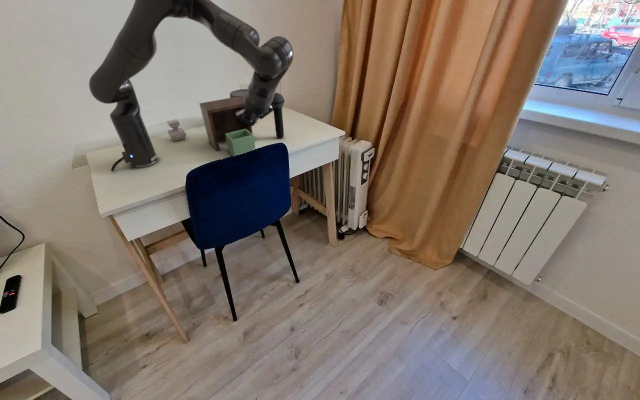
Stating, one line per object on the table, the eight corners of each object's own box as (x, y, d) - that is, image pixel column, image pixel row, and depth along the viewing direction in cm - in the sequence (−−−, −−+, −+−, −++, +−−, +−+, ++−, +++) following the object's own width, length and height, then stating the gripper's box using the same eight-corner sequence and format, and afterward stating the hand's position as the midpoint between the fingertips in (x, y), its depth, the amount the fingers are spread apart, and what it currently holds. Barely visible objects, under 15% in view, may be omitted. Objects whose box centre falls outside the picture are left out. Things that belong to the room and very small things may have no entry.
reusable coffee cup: (248, 128, 138) (243, 97, 129) (229, 124, 143) (223, 93, 134) (264, 120, 147) (260, 91, 138) (246, 116, 152) (242, 87, 143)
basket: (235, 158, 113) (231, 140, 108) (228, 151, 118) (224, 133, 113) (256, 153, 117) (253, 135, 112) (248, 146, 122) (245, 128, 117)
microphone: (276, 141, 126) (271, 96, 114) (271, 136, 130) (265, 92, 118) (289, 138, 128) (286, 93, 116) (284, 133, 133) (280, 90, 121)
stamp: (188, 140, 127) (183, 122, 122) (173, 144, 124) (166, 125, 119) (184, 133, 133) (178, 116, 128) (169, 137, 131) (163, 119, 126)
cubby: (216, 150, 119) (206, 110, 108) (209, 141, 126) (199, 103, 116) (253, 141, 126) (247, 102, 116) (244, 133, 134) (238, 96, 123)
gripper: (275, 81, 85) (263, 110, 101) (233, 88, 79) (227, 118, 95) (285, 103, 85) (271, 129, 100) (243, 111, 79) (236, 138, 94)
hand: (250, 123), depth 98 cm, fingers closed
